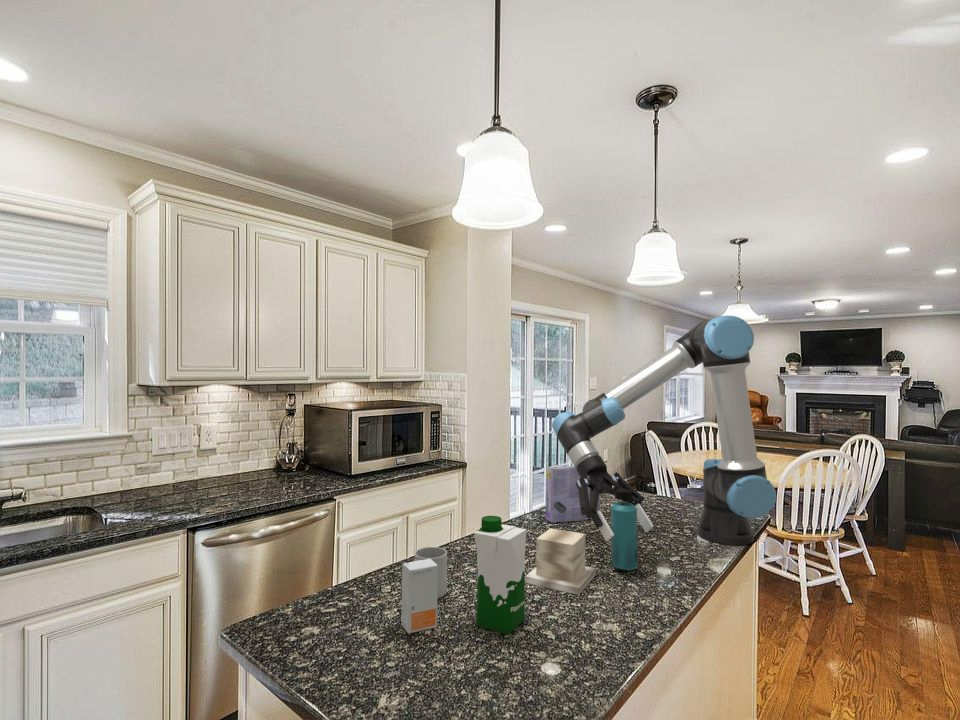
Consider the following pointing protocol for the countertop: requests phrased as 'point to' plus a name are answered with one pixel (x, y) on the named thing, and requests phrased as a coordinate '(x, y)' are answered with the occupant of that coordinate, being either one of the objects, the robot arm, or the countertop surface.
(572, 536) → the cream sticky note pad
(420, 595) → the skincare box
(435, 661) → the countertop surface
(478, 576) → the milk carton
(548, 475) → the cake pan box
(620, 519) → the beverage bottle
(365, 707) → the countertop surface
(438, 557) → the cup
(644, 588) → the countertop surface
